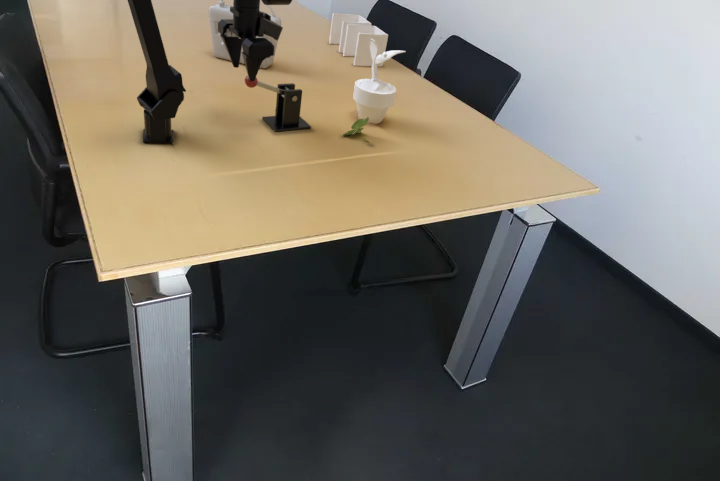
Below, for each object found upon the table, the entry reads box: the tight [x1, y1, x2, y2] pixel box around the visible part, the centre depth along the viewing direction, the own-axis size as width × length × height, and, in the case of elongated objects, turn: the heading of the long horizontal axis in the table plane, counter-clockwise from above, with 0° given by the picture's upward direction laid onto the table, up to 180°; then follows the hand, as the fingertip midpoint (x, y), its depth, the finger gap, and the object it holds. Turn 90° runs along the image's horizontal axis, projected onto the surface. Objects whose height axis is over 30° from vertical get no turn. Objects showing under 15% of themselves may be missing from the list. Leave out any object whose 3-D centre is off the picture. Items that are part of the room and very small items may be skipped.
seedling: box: [342, 117, 370, 144], centre depth 144 cm, size 7×8×6 cm
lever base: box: [261, 82, 312, 133], centre depth 142 cm, size 10×8×10 cm
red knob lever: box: [244, 75, 293, 98], centre depth 137 cm, size 14×3×3 cm, turn 122°
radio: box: [208, 0, 282, 69], centre depth 174 cm, size 22×8×25 cm, turn 76°
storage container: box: [328, 12, 389, 67], centre depth 205 cm, size 25×11×11 cm, turn 24°
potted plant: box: [352, 35, 407, 125], centre depth 151 cm, size 13×12×25 cm
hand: (243, 74), depth 133 cm, fingers open, 9 cm apart
